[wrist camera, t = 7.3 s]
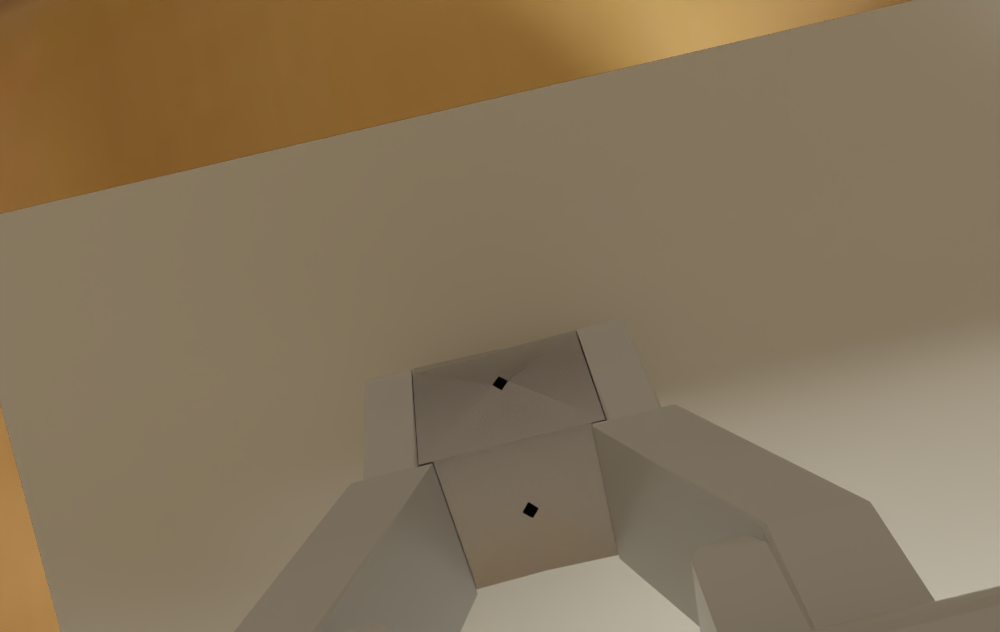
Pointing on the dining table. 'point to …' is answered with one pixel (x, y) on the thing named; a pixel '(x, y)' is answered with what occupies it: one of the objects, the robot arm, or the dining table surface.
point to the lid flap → (527, 310)
